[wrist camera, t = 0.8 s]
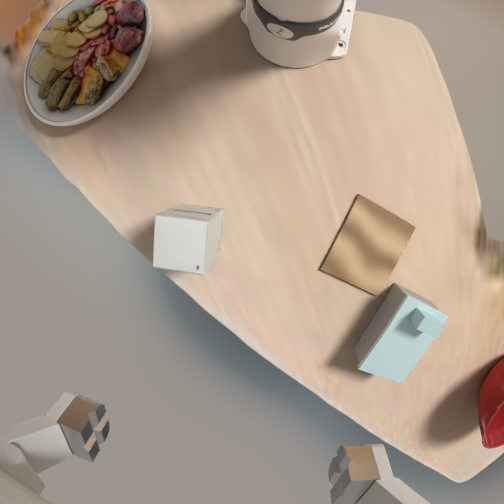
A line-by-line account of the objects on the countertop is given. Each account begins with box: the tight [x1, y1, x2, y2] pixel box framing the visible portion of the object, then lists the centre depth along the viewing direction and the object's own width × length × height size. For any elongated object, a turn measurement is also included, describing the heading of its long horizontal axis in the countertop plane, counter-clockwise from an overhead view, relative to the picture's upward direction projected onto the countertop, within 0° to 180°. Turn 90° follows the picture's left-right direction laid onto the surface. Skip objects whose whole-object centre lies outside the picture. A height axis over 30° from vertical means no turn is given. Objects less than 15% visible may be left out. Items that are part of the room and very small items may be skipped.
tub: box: [353, 283, 440, 364], centre depth 50 cm, size 15×10×6 cm, turn 156°
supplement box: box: [152, 204, 225, 275], centre depth 44 cm, size 7×7×13 cm
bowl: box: [23, 0, 154, 126], centre depth 39 cm, size 30×30×8 cm
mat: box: [320, 194, 415, 296], centre depth 49 cm, size 14×12×1 cm
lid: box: [358, 294, 449, 383], centre depth 45 cm, size 16×11×4 cm
